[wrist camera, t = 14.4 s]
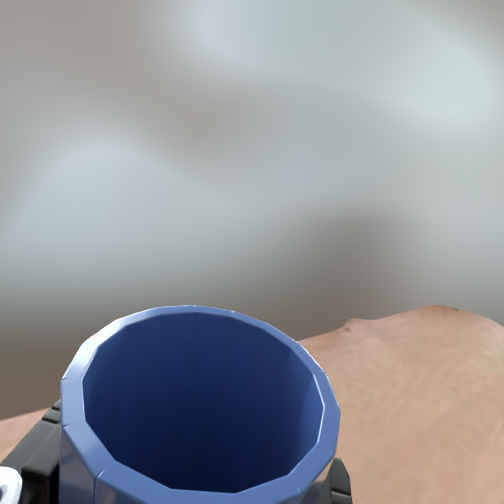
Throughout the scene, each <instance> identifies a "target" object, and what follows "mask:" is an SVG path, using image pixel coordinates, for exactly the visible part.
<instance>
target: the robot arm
mask: <svg viewBox="0 0 504 504" xmlns="http://www.w3.org/2000/svg"><path fill="white" fill-rule="evenodd" d="M59 414H60V398H59V399H58V400H57V401H56V403H55V404H54V405H53V406H52V408H51V409H49V410H48V411H47V413H46V414H45V415H44V416H43V417H42V419H41V420H39V421H38V423H37V424H36V425H35V426H34V427H33V428H32V429H31V430H30V432H29V433H28V434H27V435H26V436H25V437H24V438H23V439H22V440H21V442H20V443H19V444H18V445H17V446H16V447H15V448H14V449H13V450H12V452H11V453H10V454H9V455H8V456H7V457H6V458H5V459H4V460H3V462H2V463H1V464H0V504H58V462H59ZM315 504H353V503H352V497H351V487H350V479H349V475H348V473H347V470H346V468H345V466H344V464H343V462H342V460H341V459H340V458H337V457H334V459H333V462H332V464H331V466H330V469H329V471H328V474H327V476H326V478H325V481H324V483H323V486H322V488H321V491H320V493H319V495H318V498H317V500H316V503H315Z"/></svg>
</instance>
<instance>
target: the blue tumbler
mask: <svg viewBox="0 0 504 504" xmlns="http://www.w3.org/2000/svg"><path fill="white" fill-rule="evenodd" d="M340 416H341V412H340V408H339V405H338V402H337V400H336V397H335V394H334V392H333V389H332V386H331V384H330V381H329V379H328V376H327V375H326V373H325V371H324V370H323V369H322V368H321V367H320V366H319V365H318V363H317V362H316V361H315V360H314V359H313V358H312V357H311V356H310V354H309V353H308V352H307V351H306V350H305V349H304V348H303V346H301V345H300V344H299V343H297V342H296V341H294V340H293V339H291V338H290V337H288V336H287V335H285V334H284V333H282V332H281V331H279V330H277V329H276V328H274V327H273V326H271V325H268V324H267V323H265V322H262V321H259V320H257V319H254V318H251V317H249V316H246V315H243V314H240V313H238V312H235V311H231V310H225V309H218V308H211V307H204V306H197V305H195V306H194V305H188V306H172V307H157V308H152V309H149V310H146V311H143V312H140V313H136V314H133V315H130V316H127V317H124V318H121V319H118V320H115V321H114V322H113V323H111V324H110V325H108V326H107V327H105V328H104V329H103V330H101V331H100V332H98V333H97V334H96V335H94V336H93V337H91V338H90V339H88V340H87V341H85V342H84V344H82V345H81V347H80V349H79V351H78V352H77V354H76V356H75V357H74V359H73V360H72V362H71V364H70V366H69V367H68V369H67V371H66V372H65V374H64V376H63V377H62V379H61V382H60V414H59V462H58V504H315V503H316V500H317V498H318V495H319V493H320V491H321V488H322V486H323V483H324V481H325V478H326V476H327V474H328V471H329V469H330V466H331V464H332V462H333V459H334V457H335V454H336V450H337V441H338V433H339V424H340Z"/></svg>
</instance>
